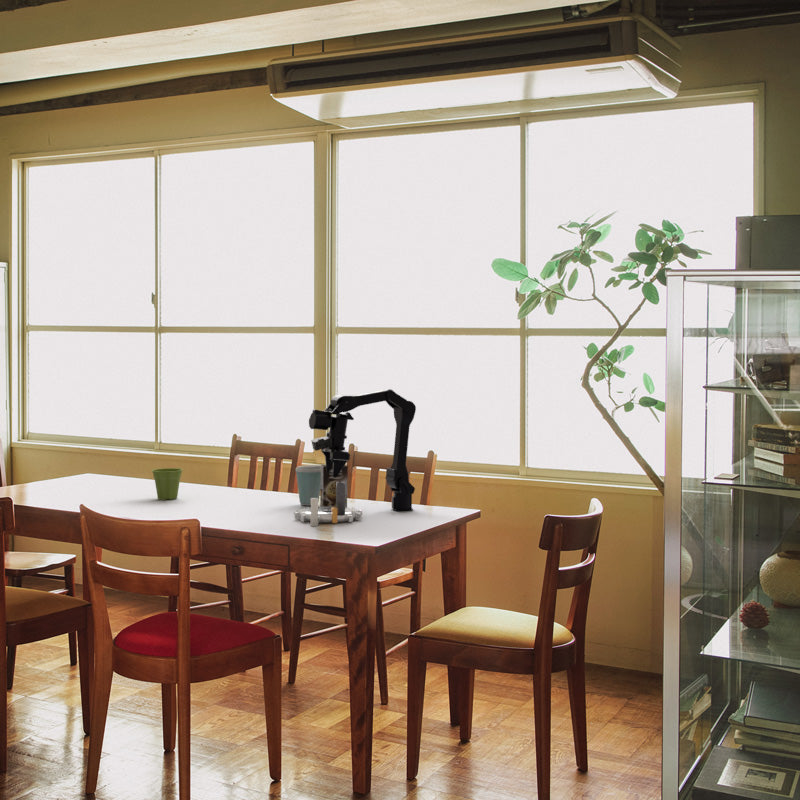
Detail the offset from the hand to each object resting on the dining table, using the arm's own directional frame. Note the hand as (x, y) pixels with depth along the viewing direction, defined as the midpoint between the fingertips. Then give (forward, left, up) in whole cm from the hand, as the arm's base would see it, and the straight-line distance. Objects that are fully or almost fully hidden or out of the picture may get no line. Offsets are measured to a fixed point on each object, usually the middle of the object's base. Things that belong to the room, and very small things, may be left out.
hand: (331, 474), depth 342 cm
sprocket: (+3, +9, -14) cm, 17 cm away
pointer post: (+10, +21, -14) cm, 27 cm away
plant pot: (+55, -48, -14) cm, 74 cm away
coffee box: (-3, -11, -14) cm, 18 cm away
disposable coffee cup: (+4, -22, -14) cm, 26 cm away
